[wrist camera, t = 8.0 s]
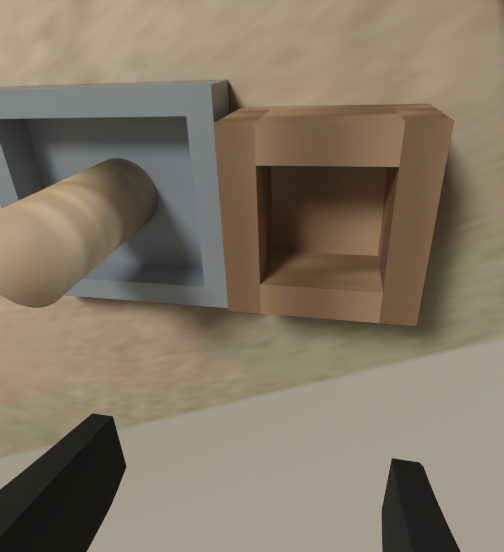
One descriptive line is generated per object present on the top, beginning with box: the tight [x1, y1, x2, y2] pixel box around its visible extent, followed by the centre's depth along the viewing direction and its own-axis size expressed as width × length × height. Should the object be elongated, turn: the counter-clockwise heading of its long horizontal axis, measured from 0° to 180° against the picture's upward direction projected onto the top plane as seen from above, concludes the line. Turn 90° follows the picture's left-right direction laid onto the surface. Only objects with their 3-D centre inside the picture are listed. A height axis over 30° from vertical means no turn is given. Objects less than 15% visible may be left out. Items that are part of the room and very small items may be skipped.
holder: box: [213, 104, 454, 326], centre depth 16 cm, size 7×7×4 cm
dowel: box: [0, 158, 158, 308], centre depth 16 cm, size 3×3×7 cm
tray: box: [0, 80, 230, 308], centre depth 18 cm, size 10×9×2 cm
